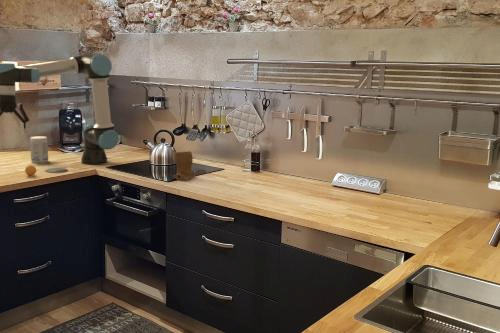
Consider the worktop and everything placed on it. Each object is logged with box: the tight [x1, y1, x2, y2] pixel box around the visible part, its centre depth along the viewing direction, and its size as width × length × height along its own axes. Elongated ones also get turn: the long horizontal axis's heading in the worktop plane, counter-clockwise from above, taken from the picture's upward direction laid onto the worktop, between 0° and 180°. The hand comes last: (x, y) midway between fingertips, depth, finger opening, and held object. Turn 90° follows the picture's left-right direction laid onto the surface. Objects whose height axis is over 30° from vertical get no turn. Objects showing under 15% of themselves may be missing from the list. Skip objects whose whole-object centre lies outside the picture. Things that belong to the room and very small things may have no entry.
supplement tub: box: [29, 135, 49, 164], centre depth 310 cm, size 10×10×15 cm
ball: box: [24, 164, 37, 177], centre depth 275 cm, size 6×6×6 cm
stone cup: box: [172, 150, 198, 181], centre depth 284 cm, size 15×12×15 cm
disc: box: [44, 167, 69, 174], centre depth 290 cm, size 12×12×1 cm
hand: (8, 135), depth 267 cm, fingers open, 13 cm apart
